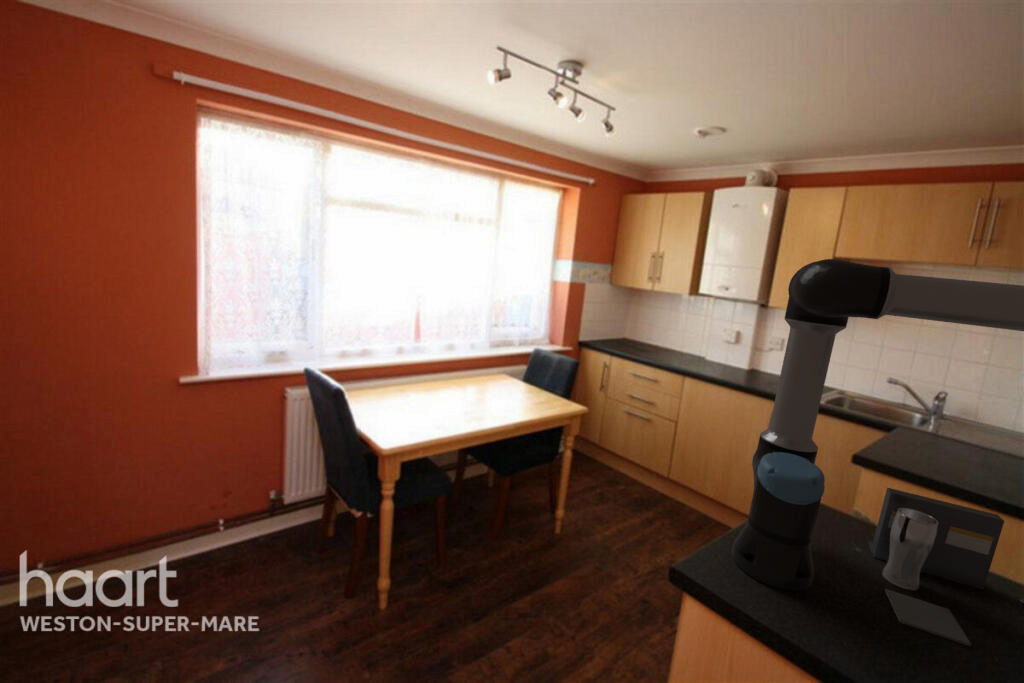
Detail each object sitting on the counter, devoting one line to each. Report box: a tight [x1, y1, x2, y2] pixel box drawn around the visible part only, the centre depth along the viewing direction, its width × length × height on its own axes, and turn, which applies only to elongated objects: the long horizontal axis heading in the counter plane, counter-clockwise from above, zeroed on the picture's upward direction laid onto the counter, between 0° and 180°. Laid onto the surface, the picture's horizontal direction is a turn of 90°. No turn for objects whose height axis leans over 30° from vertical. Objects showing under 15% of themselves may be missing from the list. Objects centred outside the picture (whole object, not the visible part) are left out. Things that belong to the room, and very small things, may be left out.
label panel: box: [868, 487, 1005, 590], centre depth 104 cm, size 19×6×16 cm, turn 64°
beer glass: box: [881, 508, 939, 591], centre depth 98 cm, size 7×7×15 cm
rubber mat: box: [884, 588, 972, 647], centre depth 88 cm, size 10×10×1 cm
